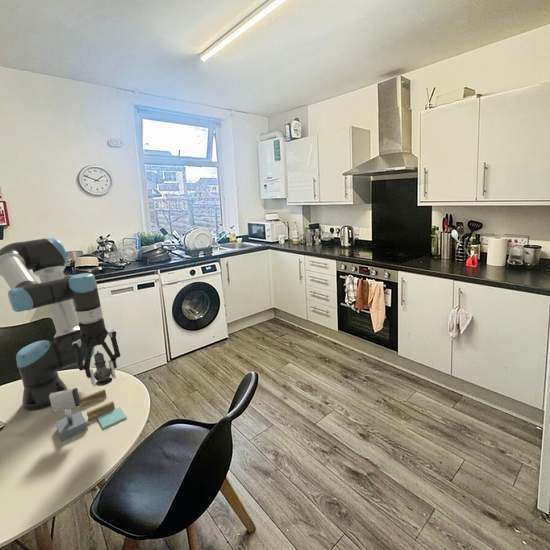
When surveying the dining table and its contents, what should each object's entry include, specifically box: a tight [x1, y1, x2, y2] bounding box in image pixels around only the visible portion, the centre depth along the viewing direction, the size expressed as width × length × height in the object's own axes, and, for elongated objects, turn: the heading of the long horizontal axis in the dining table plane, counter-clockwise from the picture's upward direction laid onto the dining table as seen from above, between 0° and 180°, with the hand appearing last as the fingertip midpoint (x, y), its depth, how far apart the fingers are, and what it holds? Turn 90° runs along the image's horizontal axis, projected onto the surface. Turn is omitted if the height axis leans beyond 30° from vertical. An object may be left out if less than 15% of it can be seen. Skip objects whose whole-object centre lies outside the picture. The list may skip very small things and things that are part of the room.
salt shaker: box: [93, 350, 113, 387], centre depth 118 cm, size 6×6×12 cm
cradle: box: [80, 388, 116, 421], centre depth 130 cm, size 12×9×3 cm
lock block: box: [55, 411, 89, 442], centre depth 118 cm, size 8×8×3 cm
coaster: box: [96, 406, 128, 430], centre depth 123 cm, size 8×8×1 cm
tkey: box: [49, 387, 81, 422], centre depth 116 cm, size 8×2×11 cm, turn 107°
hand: (103, 380), depth 119 cm, fingers closed on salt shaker, 6 cm apart
